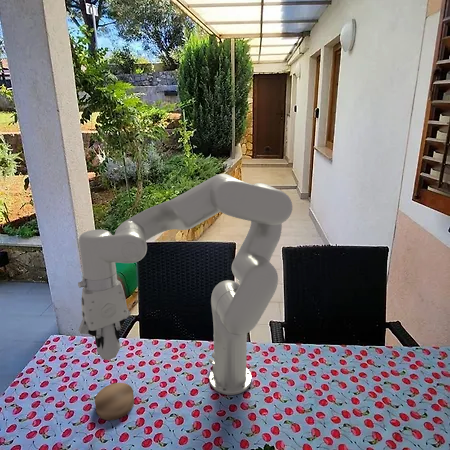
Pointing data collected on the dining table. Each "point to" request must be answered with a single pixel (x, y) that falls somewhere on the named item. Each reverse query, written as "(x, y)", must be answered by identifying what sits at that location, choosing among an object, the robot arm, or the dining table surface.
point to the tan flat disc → (114, 401)
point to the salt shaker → (109, 343)
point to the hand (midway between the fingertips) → (108, 344)
